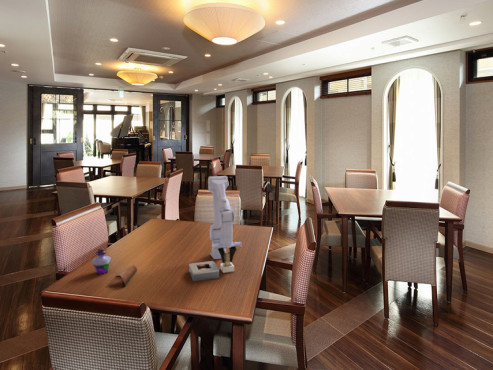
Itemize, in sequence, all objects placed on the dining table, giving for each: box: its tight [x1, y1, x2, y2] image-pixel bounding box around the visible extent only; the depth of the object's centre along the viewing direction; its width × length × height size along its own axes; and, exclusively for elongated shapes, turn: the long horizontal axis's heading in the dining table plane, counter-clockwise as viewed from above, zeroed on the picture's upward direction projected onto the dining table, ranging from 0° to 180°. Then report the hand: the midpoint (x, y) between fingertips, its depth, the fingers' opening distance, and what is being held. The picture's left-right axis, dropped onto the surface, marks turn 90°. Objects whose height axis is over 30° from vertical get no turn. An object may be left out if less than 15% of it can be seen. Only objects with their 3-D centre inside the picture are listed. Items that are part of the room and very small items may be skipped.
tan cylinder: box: [224, 251, 230, 267], centre depth 165 cm, size 3×3×8 cm
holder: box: [219, 262, 235, 274], centre depth 165 cm, size 6×6×3 cm
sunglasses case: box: [106, 264, 138, 288], centre depth 155 cm, size 18×7×7 cm
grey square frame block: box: [188, 260, 220, 282], centre depth 160 cm, size 12×12×4 cm
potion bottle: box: [91, 247, 112, 275], centre depth 163 cm, size 9×9×12 cm
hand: (227, 262), depth 165 cm, fingers open, 3 cm apart
